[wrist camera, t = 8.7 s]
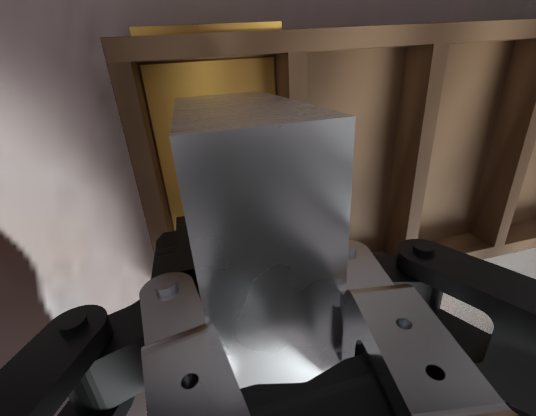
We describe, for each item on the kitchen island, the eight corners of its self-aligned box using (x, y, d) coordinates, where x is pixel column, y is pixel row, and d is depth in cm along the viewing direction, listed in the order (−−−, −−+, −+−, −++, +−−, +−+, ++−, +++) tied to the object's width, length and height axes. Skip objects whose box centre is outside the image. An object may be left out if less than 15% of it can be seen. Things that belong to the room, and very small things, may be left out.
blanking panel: (259, 90, 11) (356, 115, 5) (274, 304, 16) (337, 459, 9) (175, 98, 11) (169, 136, 5) (213, 318, 15) (238, 493, 9)
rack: (606, 15, 19) (675, 6, 16) (537, 219, 25) (580, 237, 22) (114, 36, 13) (97, 27, 11) (174, 293, 19) (173, 329, 16)
